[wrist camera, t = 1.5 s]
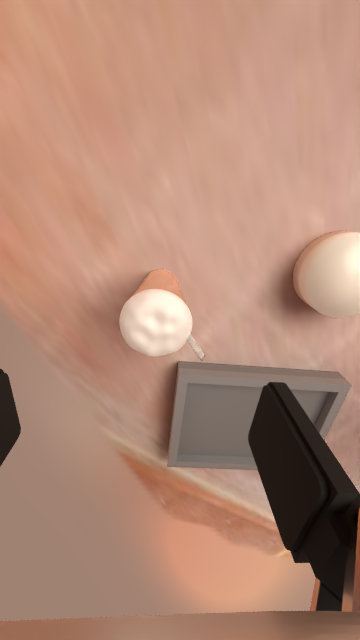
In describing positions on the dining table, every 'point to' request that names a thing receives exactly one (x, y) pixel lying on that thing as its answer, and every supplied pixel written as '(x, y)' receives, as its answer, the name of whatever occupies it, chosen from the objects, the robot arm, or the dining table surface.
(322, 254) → the cream domed disc
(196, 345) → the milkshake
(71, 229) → the dining table surface
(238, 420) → the grey tray
